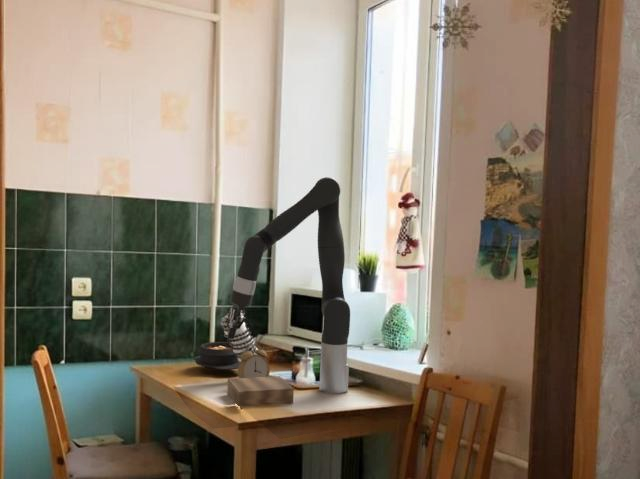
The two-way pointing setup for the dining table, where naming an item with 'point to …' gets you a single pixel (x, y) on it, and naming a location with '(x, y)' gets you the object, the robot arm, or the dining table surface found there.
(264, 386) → the walnut block
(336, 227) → the robot arm
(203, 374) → the dining table surface
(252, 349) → the decorative candle
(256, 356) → the alarm clock
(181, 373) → the dining table surface
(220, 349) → the casserole
